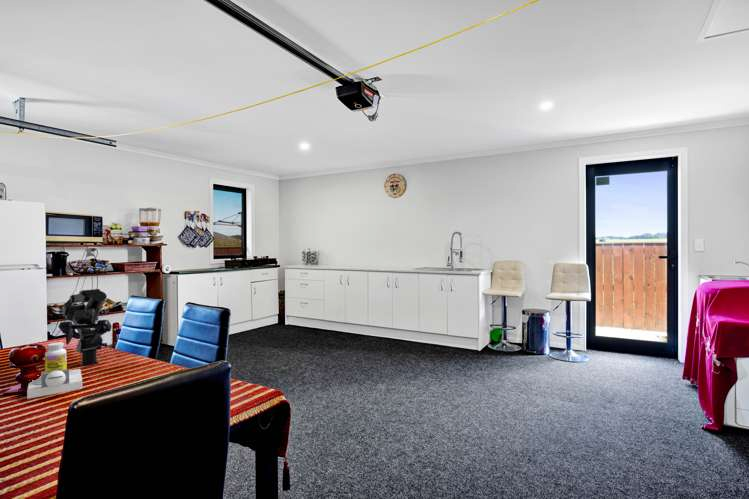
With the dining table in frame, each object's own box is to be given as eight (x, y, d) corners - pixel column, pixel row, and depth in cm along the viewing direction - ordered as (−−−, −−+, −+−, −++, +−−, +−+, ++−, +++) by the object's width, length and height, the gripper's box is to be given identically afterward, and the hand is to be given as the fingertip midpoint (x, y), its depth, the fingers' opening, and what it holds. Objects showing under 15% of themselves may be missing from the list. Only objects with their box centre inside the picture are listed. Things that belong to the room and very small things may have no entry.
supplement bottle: (43, 380, 152) (43, 346, 152) (46, 375, 158) (46, 343, 158) (65, 377, 156) (65, 344, 156) (68, 372, 161) (67, 341, 161)
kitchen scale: (30, 384, 160) (30, 363, 160) (80, 375, 170) (80, 355, 170) (27, 399, 143) (26, 375, 143) (82, 389, 153) (82, 367, 153)
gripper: (60, 303, 174) (45, 334, 164) (108, 301, 178) (97, 331, 168) (70, 318, 182) (57, 348, 171) (116, 316, 186) (106, 345, 175)
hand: (79, 343), depth 171 cm, fingers open, 9 cm apart
